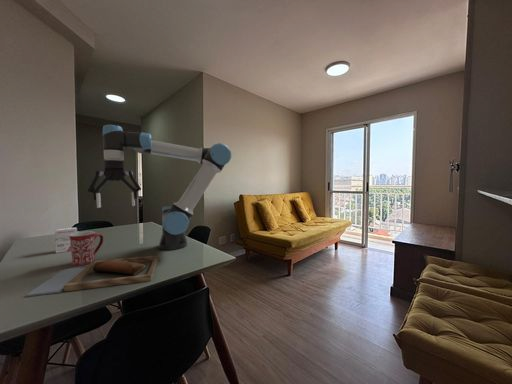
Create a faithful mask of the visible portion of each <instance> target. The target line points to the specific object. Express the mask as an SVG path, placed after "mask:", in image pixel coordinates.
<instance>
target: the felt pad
mask: <svg viewBox="0 0 512 384" xmlns="http://www.w3.org/2000/svg"><path fill="white" fill-rule="evenodd" d="M85 268H86V267H80V268H70V269H61V270H60V271H59V272H58V273H56V274H54V275H53V276H52V277H50V278H49V279H47V280H46V281H44V282H43V283H41V284H40V285H38V286H37V287H36V288H34V289H33V290H30V292H28V293H27V294H25V298H28V297H36V296H37V297H38V296H42V295H52V294H60V293H63V292H64V285H65V284H67V283H68V282H69V281H70V280H71V279H73V278H74V277H75V276H76V275H78V274H79V273H80V272H81V271H83V270H84V269H85Z"/></svg>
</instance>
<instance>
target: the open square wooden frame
mask: <svg viewBox="0 0 512 384" xmlns="http://www.w3.org/2000/svg"><path fill="white" fill-rule="evenodd" d="M107 260H108V259H102V260H94V261H93V262H91V263H89V265H88V266H85V267H84V268H85V269H84V270H83V271H81V272H80V273H79V274H78V275H76V276H75V277H74V278H73V279H71V280H70V281H69V282H68V283H67V284H65V285H64V291H63V292H64V293H65V292H70V291H71V292H72V291H79V290H87V289H94V288H95V289H96V288H104V287H105V288H106V287H111V286H112V287H113V286H120V285H128V284H136V283H143V282H151V281H152V279H153V276H154V273H155V272H156V268H157V266H158V263H159V261H160V255H159V254H157V255H148V256H145V255H144V256H136V257H135V256H134V257H124V258H114V259H111V260H128V262H135V263H141V262H142V263H143V262H151V265H150V267H149V269H148V271H147V273H146V274H138V275H137V274H136V275H130V276H122V277H121V276H120V277H112V278H104V279H96V280H95V279H94V280H85V281H83V280H84V278H86V277H87V276H88V275H89V274H90V273H91V272H94V270H93V267H94V265H95V264H96V263H98V262H102V261H107Z"/></svg>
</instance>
